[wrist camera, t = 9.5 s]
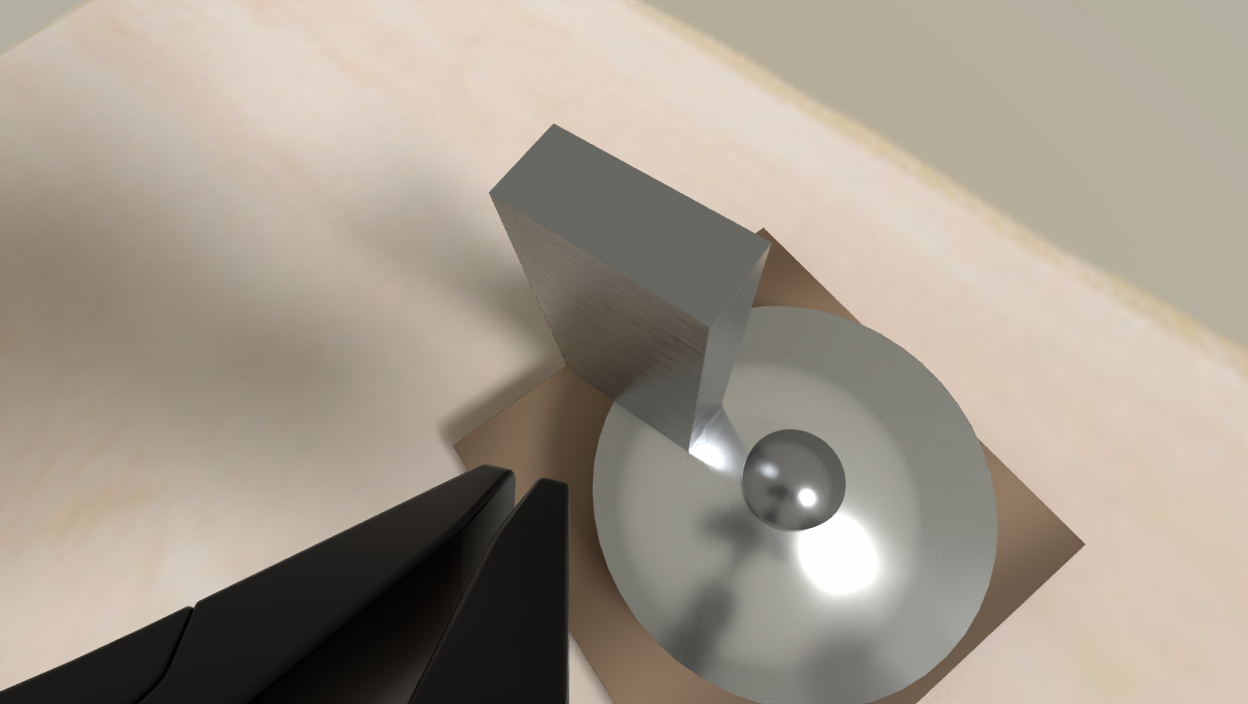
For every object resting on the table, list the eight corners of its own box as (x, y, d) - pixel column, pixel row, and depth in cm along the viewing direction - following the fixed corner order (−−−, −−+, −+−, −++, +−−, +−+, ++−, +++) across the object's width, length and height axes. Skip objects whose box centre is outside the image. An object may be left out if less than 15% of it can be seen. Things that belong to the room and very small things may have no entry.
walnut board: (1062, 546, 17) (1197, 534, 12) (722, 862, 15) (746, 976, 10) (759, 243, 21) (782, 157, 17) (463, 452, 19) (404, 414, 15)
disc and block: (1035, 446, 16) (1464, 287, 7) (858, 801, 13) (1205, 1193, 5) (683, 245, 19) (698, -32, 10) (483, 500, 16) (285, 409, 8)
